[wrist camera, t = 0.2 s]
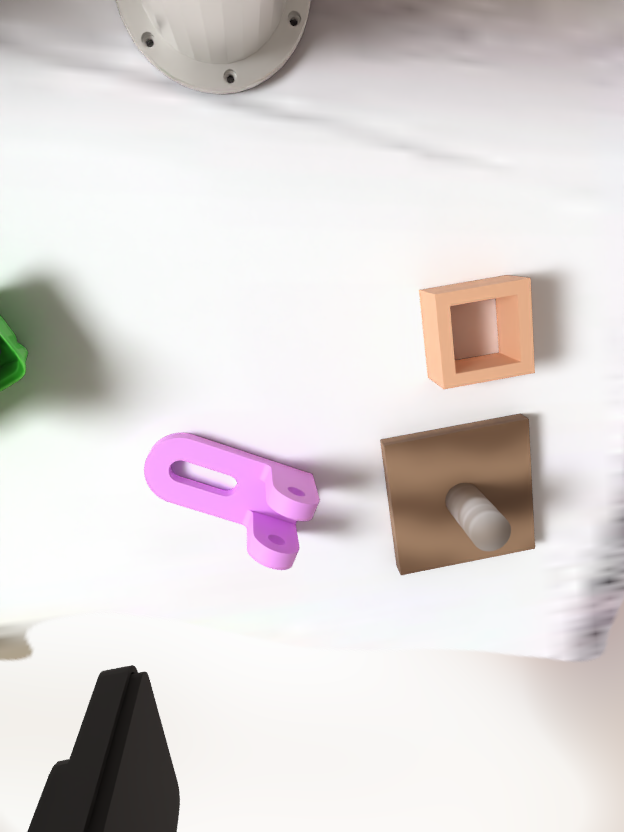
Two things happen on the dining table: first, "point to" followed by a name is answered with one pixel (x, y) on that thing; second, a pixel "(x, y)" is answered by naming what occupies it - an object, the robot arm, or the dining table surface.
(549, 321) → the dining table surface
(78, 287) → the dining table surface
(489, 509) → the post stand
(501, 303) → the collar
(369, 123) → the dining table surface
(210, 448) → the bracket
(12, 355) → the fruit basket
